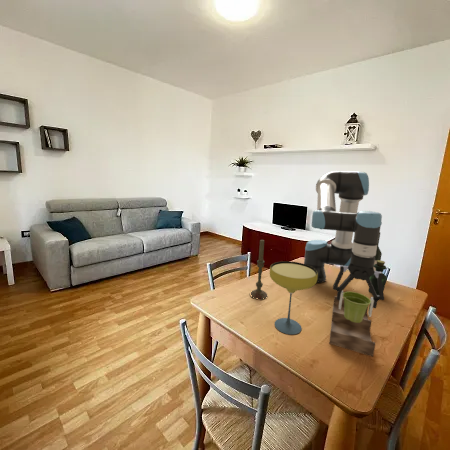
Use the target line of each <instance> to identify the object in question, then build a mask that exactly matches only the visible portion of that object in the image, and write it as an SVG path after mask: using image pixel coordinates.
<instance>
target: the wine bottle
mask: <svg viewBox="0 0 450 450" xmlns="http://www.w3.org/2000/svg"><path fill="white" fill-rule="evenodd" d="M380 237H381V232H380V233H379V238H378V244H377V250H376V255H375V256H374V257H375V262H374V264H377V260H381V261H382V255H383V253H382V251H381V249H380V247H379V244H380V239H381V238H380ZM374 271H376V268H375V267H374Z"/></svg>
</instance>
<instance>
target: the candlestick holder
mask: <svg viewBox="0 0 450 450" xmlns="http://www.w3.org/2000/svg"><path fill="white" fill-rule="evenodd" d="M264 251H265V240H264V239H260V240H259V248H258V260H257V261H256V263H257V265H256V266H257V267H258V268H257V269H258V271H257V273H258V278H257V282H255V286H256V289H253V290H252V292H251V291H250V292H251V295H252V297H254V298H258V299H262V300H264V299H263V298H266V297H267V298H268V296H267V295H268V293H267V292H266V291H264V290H263V289H262V287H263V286H264V285H263V282H262V275H263V268H264V266H265V262H266V261H265V260H264ZM252 297H251V298H252ZM254 298H253V299H254ZM267 298H266V299H267ZM258 299H257V300H258Z"/></svg>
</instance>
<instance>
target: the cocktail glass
mask: <svg viewBox="0 0 450 450" xmlns="http://www.w3.org/2000/svg"><path fill="white" fill-rule="evenodd" d="M269 278H271V281H273V282H274V283H275V284H276V285H277V286H279V287H282V288H283V289H285V290H286V291H287V292H288V293H289V302H288V303H289V304H288V311H287V317H280V318H278V319H276V320H275V321H274V328H275V329H276V330H277V331H279V332H281V333H282V334H285V335H293V336H294V335H298V334H299V333H300V332H302V329H303V328H302V325H301V324H300V323H299V322H298V321H296V320H294V319H292V318H291V304H292V297H293V294H294V293H296V292H297V291H304V290H307V289H311V288H313V287H314V286H315V285H316V284H317V283H316V282H317V278H318V274H317V271H316V270H315V269H314V268H312V267H311V266H308V265H306V264H304V263H301V262H298V261H297V262H296V261H288V260H287V261H286V260H284V261H277V262H273V263H272V264H271V265H270V267H269Z"/></svg>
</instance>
